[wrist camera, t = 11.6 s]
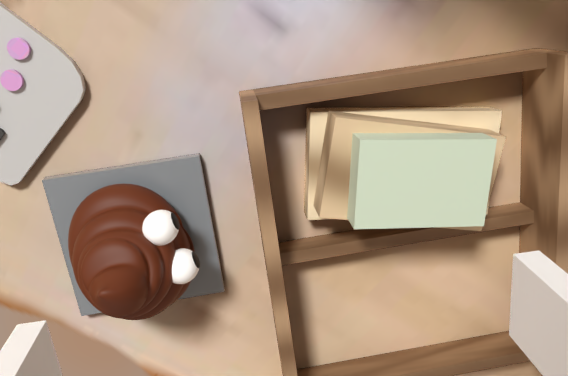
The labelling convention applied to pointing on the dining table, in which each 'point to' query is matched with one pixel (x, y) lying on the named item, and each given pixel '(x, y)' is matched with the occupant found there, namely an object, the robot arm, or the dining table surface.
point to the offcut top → (419, 179)
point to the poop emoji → (130, 252)
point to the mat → (164, 181)
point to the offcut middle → (338, 156)
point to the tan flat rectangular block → (441, 115)
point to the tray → (528, 214)
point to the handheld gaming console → (32, 94)
